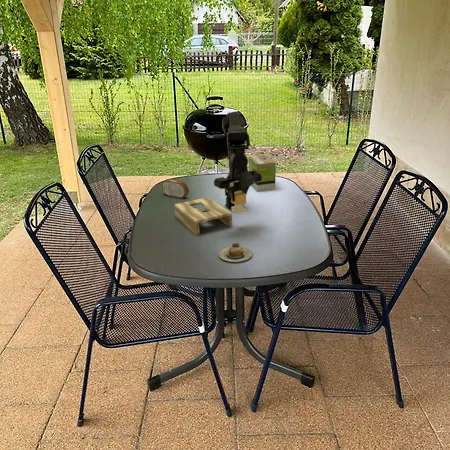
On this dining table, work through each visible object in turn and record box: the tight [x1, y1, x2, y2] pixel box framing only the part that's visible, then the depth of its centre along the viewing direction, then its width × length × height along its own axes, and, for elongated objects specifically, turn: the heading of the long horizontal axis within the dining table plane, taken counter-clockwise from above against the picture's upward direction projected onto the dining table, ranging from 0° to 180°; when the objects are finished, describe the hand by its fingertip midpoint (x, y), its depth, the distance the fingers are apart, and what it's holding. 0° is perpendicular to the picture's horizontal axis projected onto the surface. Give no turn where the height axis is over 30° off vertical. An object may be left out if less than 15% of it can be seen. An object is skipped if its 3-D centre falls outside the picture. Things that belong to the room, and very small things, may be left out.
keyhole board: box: [174, 197, 233, 236], centre depth 182 cm, size 16×22×6 cm
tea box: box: [248, 154, 277, 193], centre depth 221 cm, size 15×10×15 cm
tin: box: [161, 178, 190, 199], centre depth 212 cm, size 15×3×8 cm, turn 58°
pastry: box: [218, 242, 253, 264], centre depth 154 cm, size 12×12×5 cm
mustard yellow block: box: [230, 191, 247, 215], centre depth 172 cm, size 4×4×8 cm
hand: (238, 200), depth 172 cm, fingers closed on mustard yellow block, 4 cm apart
